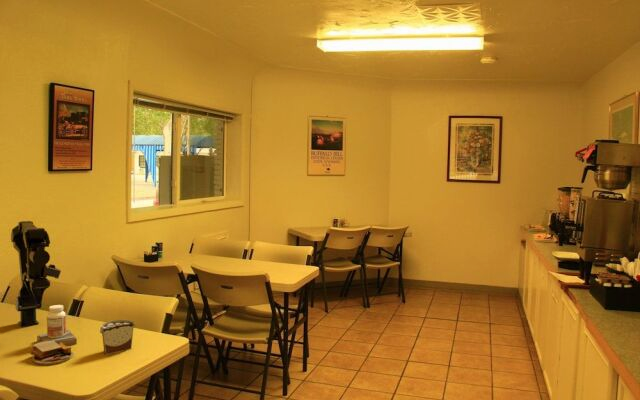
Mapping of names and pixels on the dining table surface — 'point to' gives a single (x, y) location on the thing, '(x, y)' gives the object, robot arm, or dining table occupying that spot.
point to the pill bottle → (56, 322)
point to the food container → (117, 335)
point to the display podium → (59, 339)
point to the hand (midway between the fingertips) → (36, 301)
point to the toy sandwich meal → (50, 353)
